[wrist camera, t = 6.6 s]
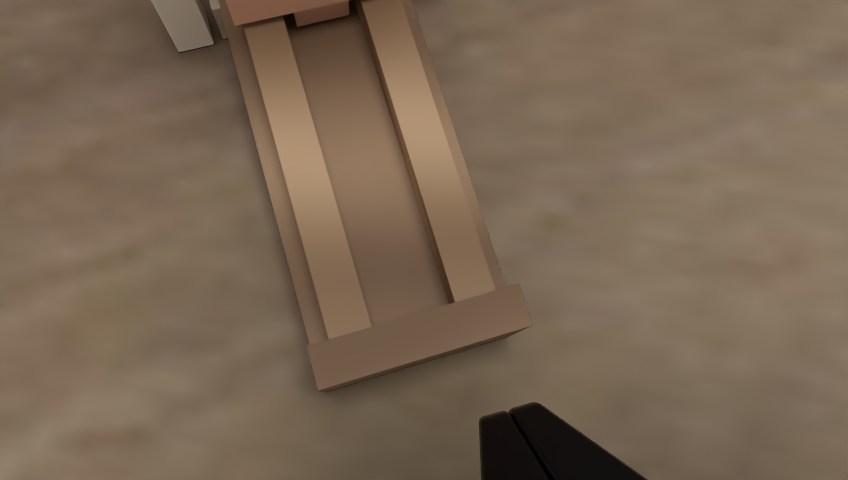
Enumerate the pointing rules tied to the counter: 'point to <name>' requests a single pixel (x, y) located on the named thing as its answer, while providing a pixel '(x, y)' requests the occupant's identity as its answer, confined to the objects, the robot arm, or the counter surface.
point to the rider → (287, 10)
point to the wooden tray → (369, 191)
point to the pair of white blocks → (185, 23)
